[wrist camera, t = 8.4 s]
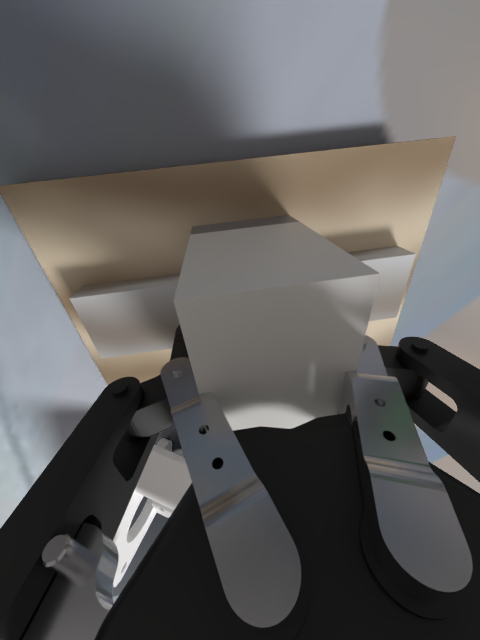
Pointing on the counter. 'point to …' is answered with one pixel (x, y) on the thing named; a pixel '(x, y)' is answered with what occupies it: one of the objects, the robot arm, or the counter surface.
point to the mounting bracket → (151, 499)
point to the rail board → (211, 208)
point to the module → (272, 319)
